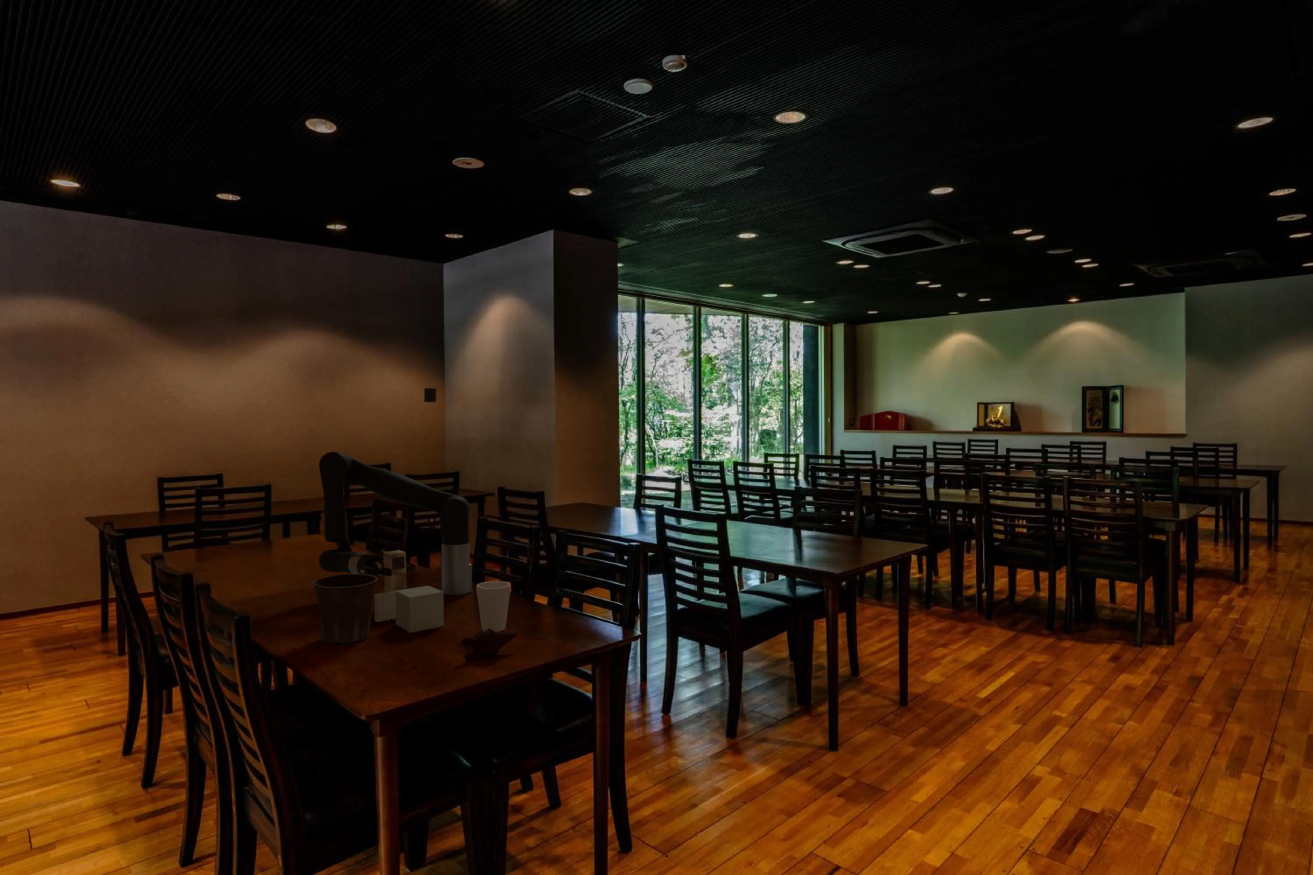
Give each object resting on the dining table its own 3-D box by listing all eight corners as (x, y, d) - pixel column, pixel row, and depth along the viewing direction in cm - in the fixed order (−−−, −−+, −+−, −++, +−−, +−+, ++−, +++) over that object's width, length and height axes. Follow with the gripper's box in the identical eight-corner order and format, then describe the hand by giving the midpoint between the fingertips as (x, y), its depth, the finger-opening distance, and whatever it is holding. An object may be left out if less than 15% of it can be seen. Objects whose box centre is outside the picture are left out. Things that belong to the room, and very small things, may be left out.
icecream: (508, 621, 191) (454, 636, 182) (520, 620, 185) (466, 636, 176) (513, 647, 190) (459, 664, 181) (526, 647, 185) (471, 664, 175)
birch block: (400, 587, 226) (399, 550, 226) (407, 590, 222) (406, 552, 222) (384, 590, 223) (383, 552, 222) (391, 593, 219) (390, 554, 219)
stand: (428, 618, 216) (428, 585, 215) (443, 626, 208) (443, 591, 208) (395, 625, 209) (395, 590, 209) (410, 632, 202) (409, 597, 201)
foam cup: (506, 635, 200) (505, 588, 199) (472, 635, 200) (472, 588, 200) (513, 625, 209) (513, 581, 209) (481, 625, 209) (481, 580, 209)
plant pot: (390, 635, 199) (390, 577, 199) (338, 651, 185) (338, 589, 185) (352, 626, 207) (352, 571, 207) (300, 641, 194) (300, 581, 193)
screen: (426, 611, 224) (426, 585, 224) (429, 612, 223) (428, 586, 222) (374, 620, 213) (374, 593, 213) (377, 622, 212) (377, 595, 212)
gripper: (345, 557, 224) (379, 562, 215) (385, 549, 236) (419, 554, 227) (346, 580, 224) (380, 587, 215) (386, 572, 236) (419, 578, 227)
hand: (399, 570), depth 221 cm, fingers closed on birch block, 6 cm apart
